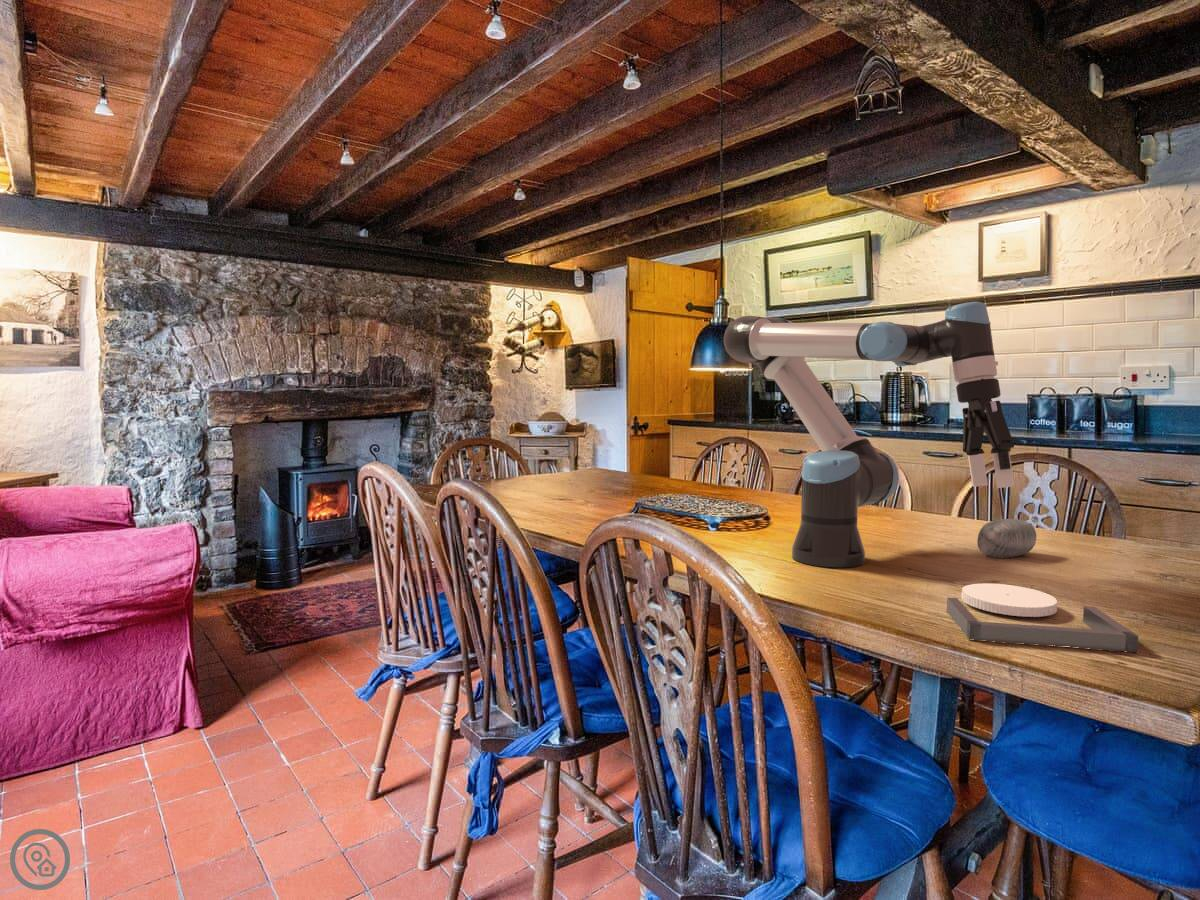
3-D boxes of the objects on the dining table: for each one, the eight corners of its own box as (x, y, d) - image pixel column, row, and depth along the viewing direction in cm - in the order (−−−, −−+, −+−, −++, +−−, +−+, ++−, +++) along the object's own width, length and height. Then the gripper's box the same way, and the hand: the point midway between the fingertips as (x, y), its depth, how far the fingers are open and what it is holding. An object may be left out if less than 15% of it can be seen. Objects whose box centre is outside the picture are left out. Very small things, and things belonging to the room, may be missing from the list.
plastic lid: (971, 592, 128) (971, 579, 128) (1061, 607, 119) (1062, 592, 119) (952, 611, 117) (953, 596, 117) (1050, 629, 108) (1051, 613, 108)
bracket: (969, 640, 102) (970, 624, 102) (946, 612, 116) (947, 597, 115) (1137, 653, 97) (1138, 635, 97) (1093, 622, 110) (1094, 606, 110)
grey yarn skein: (1004, 533, 163) (1017, 500, 158) (1039, 558, 156) (1054, 525, 150) (960, 551, 159) (972, 518, 153) (995, 578, 152) (1008, 545, 146)
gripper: (1023, 368, 125) (1041, 485, 124) (974, 385, 150) (989, 483, 149) (978, 374, 127) (996, 490, 126) (937, 390, 151) (952, 487, 150)
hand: (992, 486), depth 137 cm, fingers open, 13 cm apart
